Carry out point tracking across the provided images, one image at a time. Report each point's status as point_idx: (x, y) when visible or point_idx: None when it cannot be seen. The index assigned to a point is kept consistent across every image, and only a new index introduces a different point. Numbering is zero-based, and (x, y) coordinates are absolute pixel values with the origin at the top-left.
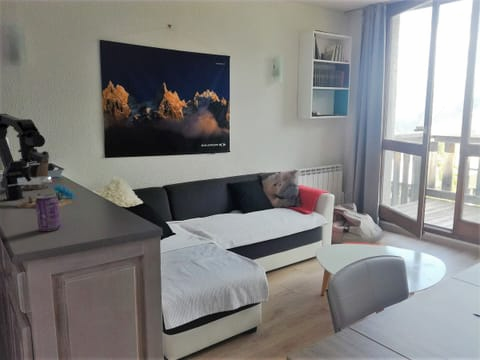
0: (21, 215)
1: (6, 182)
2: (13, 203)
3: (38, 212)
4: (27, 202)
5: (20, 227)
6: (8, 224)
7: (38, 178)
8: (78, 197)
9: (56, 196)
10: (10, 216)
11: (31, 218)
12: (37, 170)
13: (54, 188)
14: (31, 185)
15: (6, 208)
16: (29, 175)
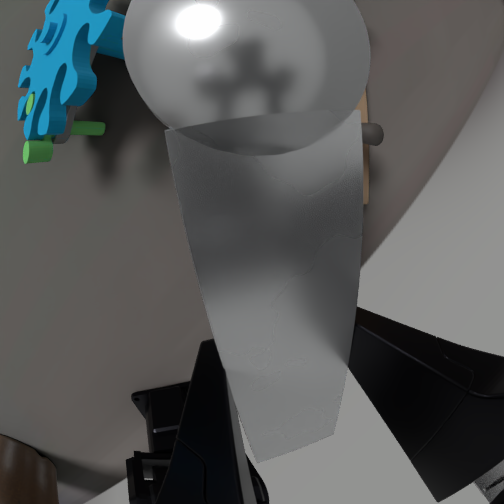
0: (449, 65)
1: (256, 474)
2: None
3: None
4: None
5: (493, 12)
6: (494, 54)
7: (355, 162)
8: (16, 26)
9: (80, 123)
10: (461, 102)
11: (458, 10)
12: (186, 483)
13: (80, 102)
14: (37, 467)
15: (368, 250)
16: (405, 338)
